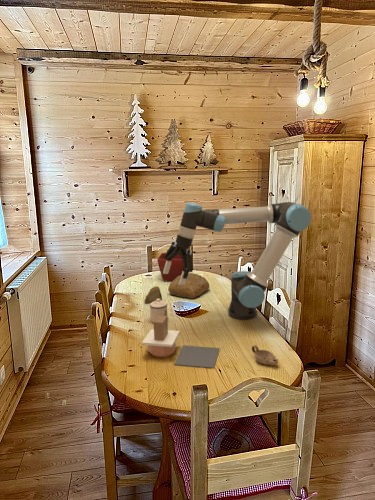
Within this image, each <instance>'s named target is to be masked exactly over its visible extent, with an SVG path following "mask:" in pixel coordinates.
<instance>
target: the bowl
mask: <svg viewBox="0 0 375 500" xmlns="http://www.w3.org/2000/svg"><path fill="white" fill-rule="evenodd" d="M176 344H177V343H176V341H175V343H174V345H173V347H165V346H153V345H147V351H148V352H149V353H150V355H151V356H153V357H155V358H166V357H170V356H171V355H173V354H174V352H175V350H176V348H177V347H176V346H177V345H176Z"/></svg>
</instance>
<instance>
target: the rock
mask: <svg viewBox="0 0 375 500" xmlns="http://www.w3.org/2000/svg"><path fill="white" fill-rule="evenodd" d="M156 299H160V300H162V301H163V298H162V293H161V289H160V287H159V286H153V287H151V288H150V289H149V291H148V293H147V295H145V299H144V304H150V303H152V302H154V301H156Z"/></svg>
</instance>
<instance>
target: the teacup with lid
mask: <svg viewBox="0 0 375 500" xmlns="http://www.w3.org/2000/svg"><path fill="white" fill-rule="evenodd" d="M149 308H150V310H149V312H150V321H151V322H152V323H153V322H154V321H155V319H156V318H157V317H158V316H167V320H168V303H167V302H166V301H164V300H163V299H162V300H160V299H156V301H154V302H152V303H149Z"/></svg>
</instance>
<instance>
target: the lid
mask: <svg viewBox="0 0 375 500" xmlns="http://www.w3.org/2000/svg"><path fill="white" fill-rule="evenodd" d="M167 317H168V315H167V316H158V317H157V318H156V319H155V321H154V322H152V323H153V328H151V329H150V330H149V332H148V334H147V335H146V336H145V337H144V339H143V340H142V341H141V345H143V346H148V345H153V346H165V347H173V345H174V343H175V342H176V341H177V339H178V337H179V335H180V334H181V333H180V332H181V331H180V330H172V329H169V324H168V322H169V321H168V320H167Z"/></svg>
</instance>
